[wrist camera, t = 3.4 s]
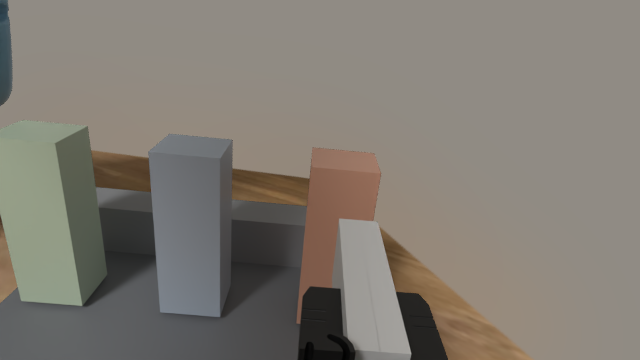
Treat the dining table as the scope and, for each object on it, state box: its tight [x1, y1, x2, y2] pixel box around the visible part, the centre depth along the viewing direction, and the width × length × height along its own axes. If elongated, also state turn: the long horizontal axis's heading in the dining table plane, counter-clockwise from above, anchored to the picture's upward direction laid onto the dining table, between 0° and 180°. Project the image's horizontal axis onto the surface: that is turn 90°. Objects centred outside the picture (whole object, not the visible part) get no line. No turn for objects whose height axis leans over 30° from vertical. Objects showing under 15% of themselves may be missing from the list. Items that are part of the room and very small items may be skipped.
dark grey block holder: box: [0, 187, 307, 360], centre depth 26 cm, size 22×14×5 cm, turn 89°
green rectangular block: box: [0, 120, 107, 306], centre depth 23 cm, size 4×3×10 cm
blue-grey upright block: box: [148, 134, 233, 317], centre depth 23 cm, size 4×3×10 cm
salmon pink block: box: [296, 148, 381, 324], centre depth 24 cm, size 4×3×10 cm
